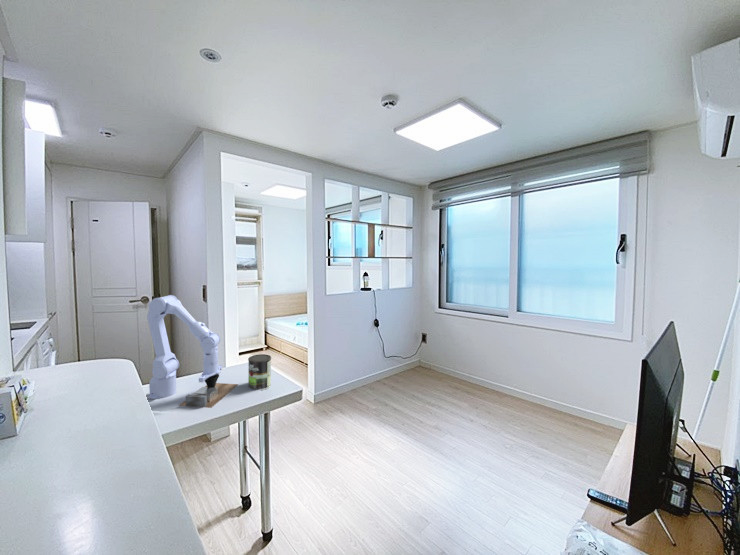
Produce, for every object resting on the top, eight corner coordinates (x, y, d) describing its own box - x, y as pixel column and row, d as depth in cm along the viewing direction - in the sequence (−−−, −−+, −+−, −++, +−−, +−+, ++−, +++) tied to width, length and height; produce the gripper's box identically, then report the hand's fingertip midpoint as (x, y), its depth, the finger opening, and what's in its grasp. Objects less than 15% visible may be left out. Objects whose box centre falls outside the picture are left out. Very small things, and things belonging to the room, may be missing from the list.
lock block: (193, 400, 127) (193, 393, 127) (202, 394, 133) (202, 386, 133) (209, 401, 126) (209, 394, 126) (218, 395, 132) (217, 387, 132)
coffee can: (258, 393, 137) (258, 363, 136) (243, 387, 142) (243, 358, 141) (275, 384, 146) (275, 356, 145) (260, 380, 151) (260, 352, 150)
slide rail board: (178, 407, 123) (178, 396, 122) (210, 384, 145) (210, 374, 144) (211, 409, 122) (211, 398, 122) (238, 385, 144) (238, 376, 143)
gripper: (209, 368, 125) (210, 399, 126) (228, 356, 139) (228, 384, 140) (193, 367, 125) (194, 398, 126) (213, 355, 140) (214, 383, 141)
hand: (211, 391), depth 133 cm, fingers closed, pressing on slide rail board
